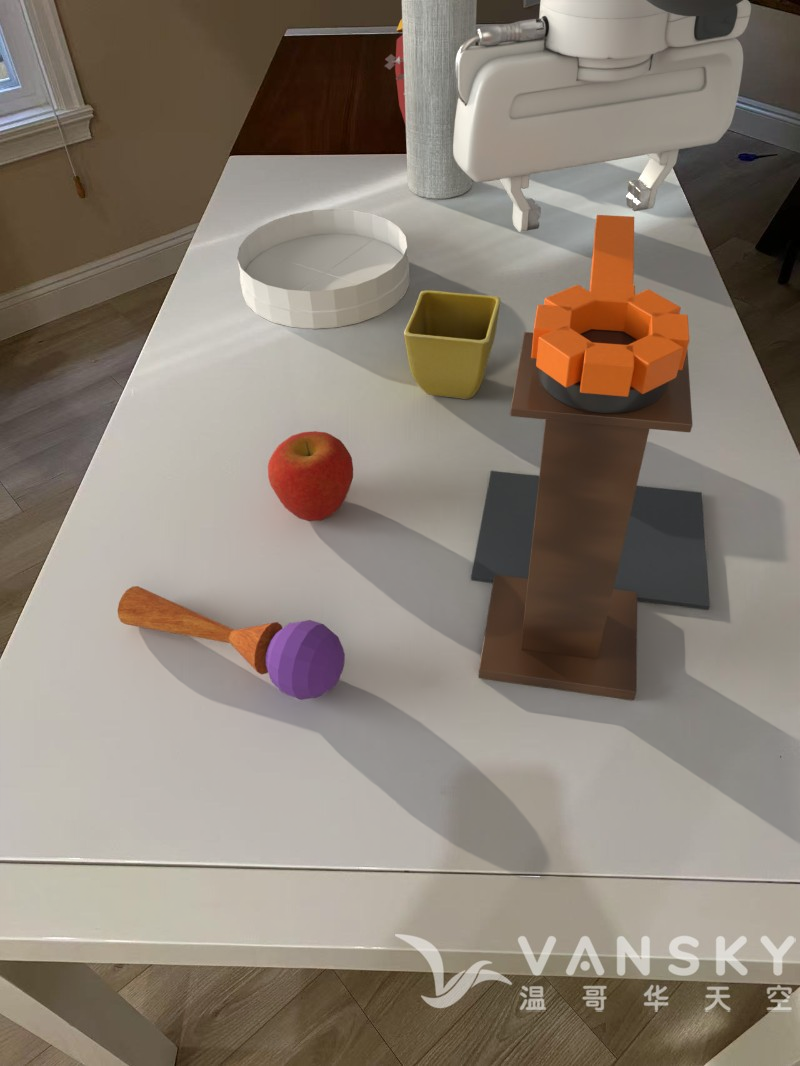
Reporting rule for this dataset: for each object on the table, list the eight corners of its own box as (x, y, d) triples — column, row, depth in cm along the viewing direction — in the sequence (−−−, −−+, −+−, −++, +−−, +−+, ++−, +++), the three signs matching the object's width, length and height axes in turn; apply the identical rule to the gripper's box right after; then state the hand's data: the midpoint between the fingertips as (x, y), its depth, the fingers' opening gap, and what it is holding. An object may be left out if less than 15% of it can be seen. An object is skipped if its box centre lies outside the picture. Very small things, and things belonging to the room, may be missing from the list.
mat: (700, 495, 78) (701, 492, 78) (708, 610, 69) (710, 606, 69) (490, 474, 82) (491, 470, 81) (470, 580, 72) (471, 576, 72)
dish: (442, 267, 110) (442, 231, 107) (343, 347, 98) (339, 310, 95) (312, 229, 120) (308, 195, 116) (207, 298, 107) (198, 263, 104)
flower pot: (485, 414, 88) (488, 341, 82) (405, 404, 90) (402, 333, 84) (497, 366, 94) (501, 296, 88) (422, 359, 96) (421, 289, 89)
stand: (634, 600, 70) (709, 313, 50) (634, 701, 63) (719, 414, 43) (493, 583, 72) (511, 299, 52) (478, 678, 65) (492, 394, 45)
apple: (259, 510, 80) (245, 448, 74) (316, 467, 84) (307, 405, 78) (316, 546, 76) (305, 484, 70) (373, 500, 80) (367, 437, 74)
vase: (485, 183, 128) (492, -22, 109) (442, 206, 123) (442, -4, 104) (437, 167, 133) (436, -32, 114) (394, 188, 128) (385, -16, 109)
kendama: (147, 557, 70) (355, 616, 63) (161, 611, 74) (359, 673, 66) (98, 598, 66) (316, 666, 59) (115, 653, 69) (323, 724, 62)
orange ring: (674, 241, 56) (680, 212, 55) (683, 402, 44) (691, 370, 43) (550, 234, 58) (553, 206, 56) (526, 388, 46) (528, 357, 44)
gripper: (472, 44, 49) (468, 259, 59) (775, 2, 53) (723, 213, 63) (439, 16, 54) (440, 222, 63) (721, -21, 57) (680, 180, 67)
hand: (583, 217), depth 63 cm, fingers open, 8 cm apart
